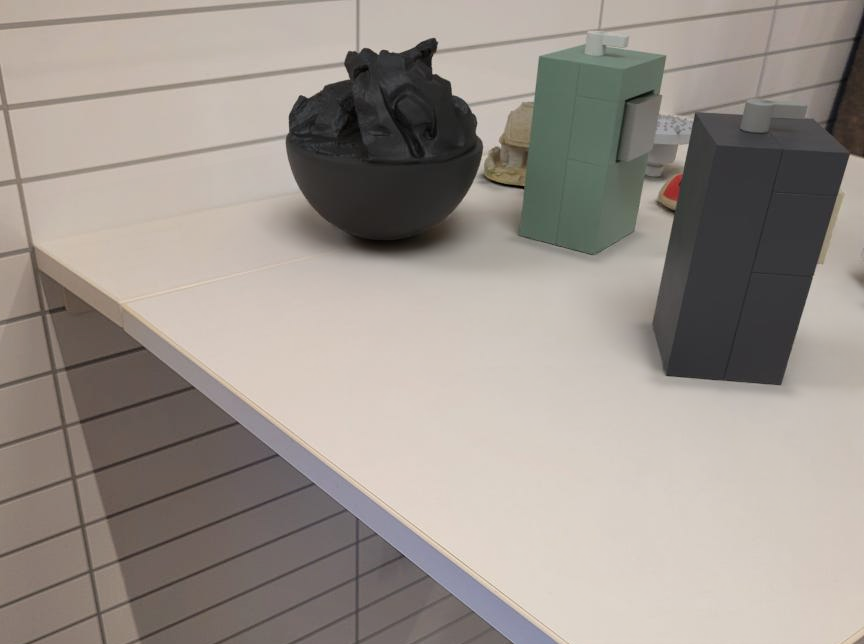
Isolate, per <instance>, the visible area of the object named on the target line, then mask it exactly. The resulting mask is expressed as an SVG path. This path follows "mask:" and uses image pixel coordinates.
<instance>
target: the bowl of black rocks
mask: <svg viewBox="0 0 864 644" xmlns="http://www.w3.org/2000/svg"><path fill="white" fill-rule="evenodd" d="M438 45H439V41H437V38H435V37H431V38H428V39H427V38H426V40H422V41H420V42H419V43H417V44H416V45H415V46H413V47H411V48H410V49H407V50H404V51H401V52H394V51H392V52H389V50H388V49H381V50H380V51H379V53H377V52H375V51H374V50H372V49H371V48H369V47H363V48H362V49H361V50H360V51H359V52H357V51H356V50H353V51H352V50H348V51H347V53H346V55H345V59H344V62H343V65H344V68H345V71H346V72H347V74H348V78H349V79H343V80H340V81H337V82H333V83H328V84H325V85H324V86H323V88H322V90H320V91H319V92H317V93H315V94H313V95H312V96H310V97H307V96H305V95H302V94H300V95H298V97H297V99H296V101H295V102H294V104H293V106H292V108H291V110H290V112H289V113H288V114H289V115H288V133H287V134H286V137H285V150H286V155H287V156H286V157H287V161H288V164H289V167H290V170H291V173H292V175H293V178H294V181H295V183H296V184H297V187H298V188H299V190H300V192H301V194H302V195H303V197H304V198H305V200H306V201H307V202H308V203H309V205H310V206H311V207H312V208H313V209H314V210H315V212H316V213H318V214H319V215H320V216H321V217H322V218H323V219H324V220H325V221H327V222H328V223H330V224H331V225H333V226H334V227H336V228H338V229H339V230H341V231H343V232H345V233H347V234H349V235H353V236H356V237H359V238H362V239H367V240H375V241H395V240H402V239H406V238H410V237H415V236H416V235H420V234H422V233H424V232H427V231H428V230H431V229H432V228H433V227H435V226H437V225H438V224H440V223H441V222H442V221H444V220H445V219H446V218H447V217H448V216H449V215H450V214H452V213H453V212H454V210H456V209H457V207H458V206H459V205H460V204H461V202H463V200H464V198H465V197H466V195H467V194H468V192H469V191H470V189H471V187H472V186H473V183H474V181H475V179H476V176H477V175H478V171H479V169H480V165H481V162H482V157H483V153H484V143H483V140H482V138H480V137H479V136H478V135H477V127H478V118H477V116H476V114H475V113H473V112H472V108H471V107H470V106H469V104H468V102H466V100H465V99H464V98H462V97H459V96H457V95H456V94H455V95H454V94H453V88H452V83H451V81H450V80H448V79H446V78H443V77H442V76H440V75H439V74H437V73H433V57H434V55H435V54H437V51H438Z"/></svg>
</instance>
